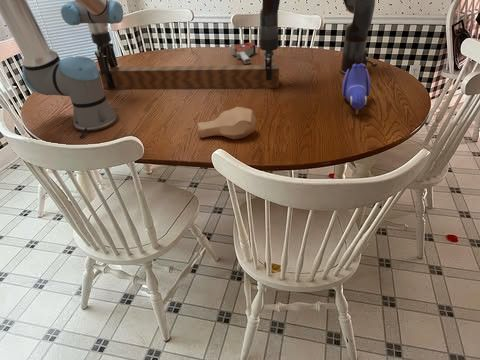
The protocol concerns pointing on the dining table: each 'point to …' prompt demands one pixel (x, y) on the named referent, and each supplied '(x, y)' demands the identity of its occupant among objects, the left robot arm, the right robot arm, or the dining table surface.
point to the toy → (356, 86)
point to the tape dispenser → (243, 51)
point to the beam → (192, 77)
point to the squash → (230, 124)
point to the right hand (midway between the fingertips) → (269, 77)
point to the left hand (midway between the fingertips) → (114, 85)
